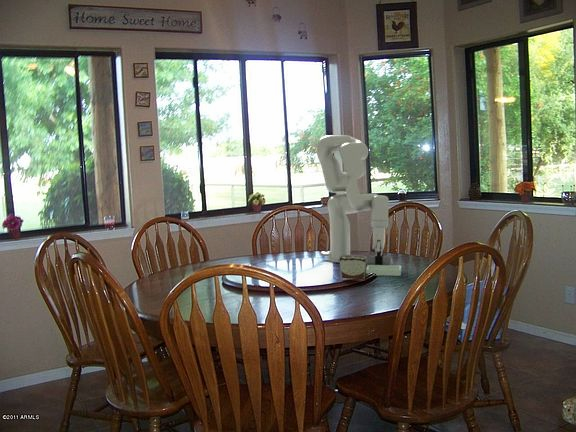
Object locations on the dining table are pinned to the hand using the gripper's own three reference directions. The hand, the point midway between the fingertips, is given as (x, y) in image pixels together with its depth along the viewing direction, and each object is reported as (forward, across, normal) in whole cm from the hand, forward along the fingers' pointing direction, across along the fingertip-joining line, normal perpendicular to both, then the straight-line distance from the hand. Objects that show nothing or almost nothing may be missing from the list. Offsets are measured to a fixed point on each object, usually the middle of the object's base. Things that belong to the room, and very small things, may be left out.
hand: (379, 263), depth 289 cm
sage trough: (+2, +10, +3) cm, 11 cm away
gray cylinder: (+1, 0, 0) cm, 1 cm away
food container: (+2, +24, -9) cm, 26 cm away
